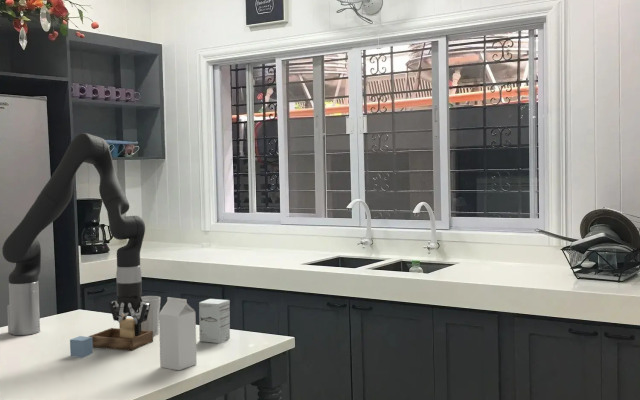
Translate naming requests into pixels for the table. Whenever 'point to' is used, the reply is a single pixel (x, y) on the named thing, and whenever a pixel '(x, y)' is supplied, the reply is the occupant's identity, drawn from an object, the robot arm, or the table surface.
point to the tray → (120, 340)
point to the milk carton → (177, 334)
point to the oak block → (127, 328)
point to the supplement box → (214, 320)
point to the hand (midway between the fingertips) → (130, 334)
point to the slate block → (81, 346)
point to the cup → (151, 314)
